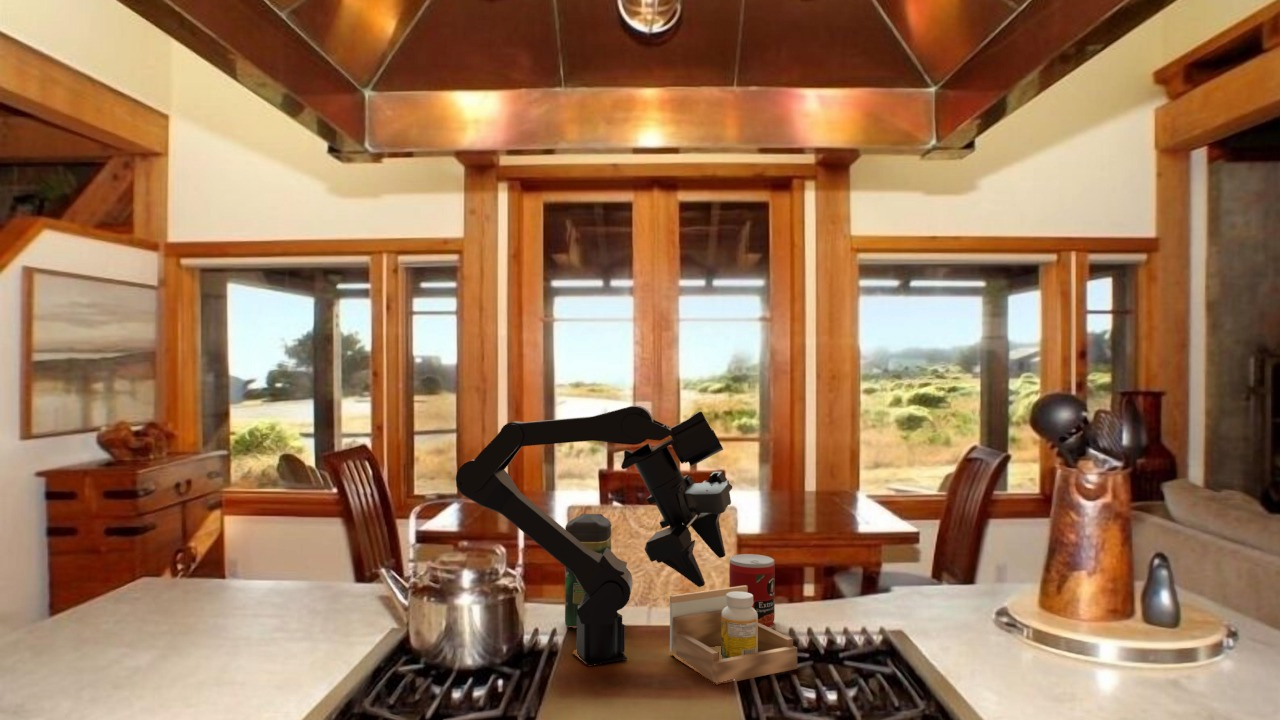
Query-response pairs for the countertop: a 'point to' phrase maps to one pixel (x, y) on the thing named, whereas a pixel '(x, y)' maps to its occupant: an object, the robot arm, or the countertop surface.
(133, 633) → the countertop surface
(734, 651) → the supplement bottle
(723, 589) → the lid panel
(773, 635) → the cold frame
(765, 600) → the canned food
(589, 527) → the coffee jar
